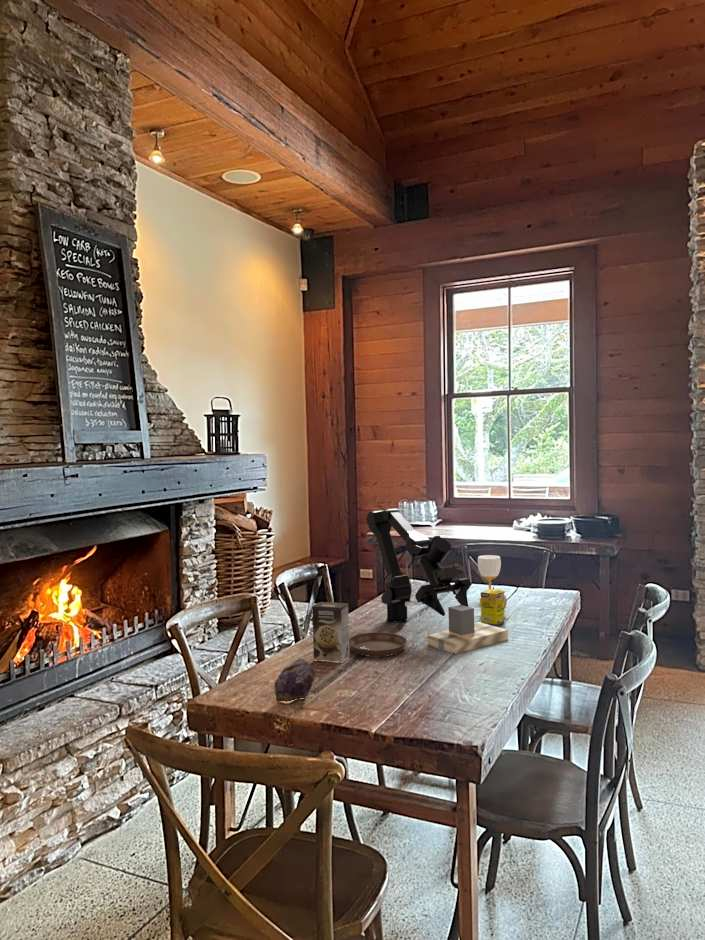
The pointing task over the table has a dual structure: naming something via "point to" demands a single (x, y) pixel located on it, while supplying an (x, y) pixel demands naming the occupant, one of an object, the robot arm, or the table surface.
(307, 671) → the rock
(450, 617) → the block
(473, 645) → the birch board
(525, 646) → the table surface
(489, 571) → the cup
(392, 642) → the plant saucer
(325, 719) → the table surface
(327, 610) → the cookie box
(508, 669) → the table surface
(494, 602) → the supplement box
